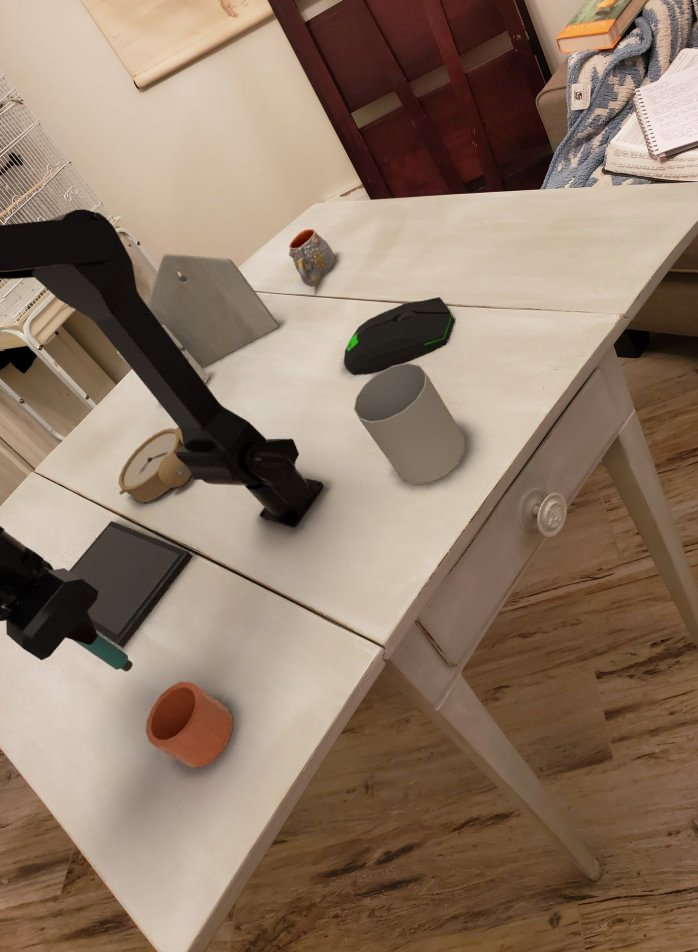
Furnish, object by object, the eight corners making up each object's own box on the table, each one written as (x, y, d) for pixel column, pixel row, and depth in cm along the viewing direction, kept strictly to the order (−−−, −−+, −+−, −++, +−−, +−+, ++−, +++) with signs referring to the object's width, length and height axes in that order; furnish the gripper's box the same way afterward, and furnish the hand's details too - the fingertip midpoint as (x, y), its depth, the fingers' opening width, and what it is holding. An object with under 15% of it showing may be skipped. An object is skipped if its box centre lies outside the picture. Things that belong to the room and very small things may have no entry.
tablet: (193, 555, 88) (187, 550, 88) (122, 647, 83) (116, 643, 82) (115, 524, 102) (110, 520, 101) (51, 601, 97) (45, 597, 96)
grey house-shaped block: (280, 303, 125) (212, 208, 113) (279, 327, 119) (208, 229, 107) (203, 345, 129) (130, 257, 117) (198, 369, 123) (121, 280, 111)
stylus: (138, 662, 68) (52, 601, 61) (126, 677, 67) (39, 617, 61) (130, 656, 69) (45, 596, 63) (118, 671, 69) (31, 611, 62)
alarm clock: (135, 441, 110) (199, 405, 102) (160, 460, 112) (224, 427, 104) (105, 498, 102) (171, 464, 94) (133, 517, 105) (199, 486, 97)
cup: (444, 488, 75) (402, 424, 69) (385, 480, 81) (340, 420, 75) (477, 428, 79) (439, 362, 73) (418, 424, 84) (378, 363, 78)
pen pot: (244, 718, 68) (211, 694, 65) (204, 778, 65) (169, 757, 62) (208, 695, 72) (176, 672, 69) (169, 751, 69) (135, 730, 66)
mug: (307, 265, 130) (287, 235, 126) (340, 251, 128) (320, 220, 124) (295, 304, 122) (274, 272, 118) (330, 289, 119) (309, 257, 115)
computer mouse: (349, 337, 106) (335, 317, 103) (452, 294, 100) (440, 271, 98) (344, 386, 98) (329, 365, 95) (456, 342, 92) (443, 318, 90)
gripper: (-164, 590, 59) (-13, 678, 68) (-108, 669, 46) (69, 764, 55) (-58, 485, 63) (70, 581, 73) (20, 531, 50) (163, 640, 60)
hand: (89, 636), depth 65 cm, fingers closed on stylus, 1 cm apart
